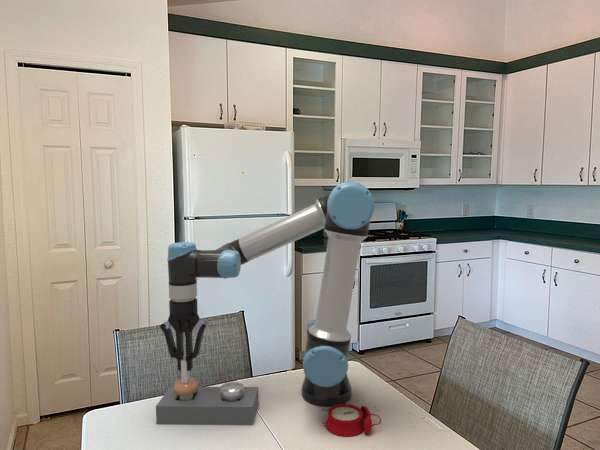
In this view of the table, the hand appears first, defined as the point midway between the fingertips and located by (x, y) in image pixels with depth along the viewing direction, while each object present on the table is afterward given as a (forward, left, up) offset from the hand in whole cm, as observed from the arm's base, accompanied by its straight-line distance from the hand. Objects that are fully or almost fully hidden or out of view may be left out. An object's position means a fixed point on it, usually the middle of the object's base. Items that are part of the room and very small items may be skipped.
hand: (185, 381), depth 125 cm
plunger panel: (-7, 0, -9) cm, 11 cm away
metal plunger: (-13, 0, -9) cm, 16 cm away
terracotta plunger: (0, 0, -8) cm, 8 cm away
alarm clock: (-46, +6, -10) cm, 47 cm away
